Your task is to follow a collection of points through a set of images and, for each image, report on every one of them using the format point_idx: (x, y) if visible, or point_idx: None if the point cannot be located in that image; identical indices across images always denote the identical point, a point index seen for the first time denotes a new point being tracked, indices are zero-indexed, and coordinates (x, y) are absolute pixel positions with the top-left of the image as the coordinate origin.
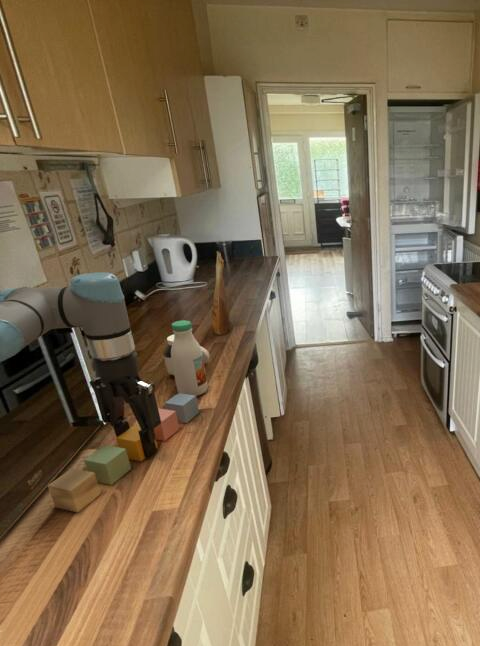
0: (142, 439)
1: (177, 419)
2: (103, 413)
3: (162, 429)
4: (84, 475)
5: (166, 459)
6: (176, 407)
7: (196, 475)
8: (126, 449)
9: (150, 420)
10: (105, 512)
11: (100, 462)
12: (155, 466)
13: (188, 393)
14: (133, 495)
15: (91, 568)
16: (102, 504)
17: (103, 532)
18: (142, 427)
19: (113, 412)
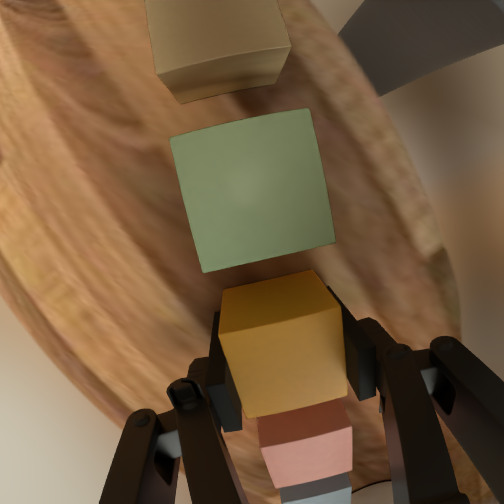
0: (213, 357)
1: None
2: (466, 371)
3: (258, 424)
4: (179, 41)
5: (156, 333)
6: (306, 489)
7: (30, 313)
8: (284, 294)
9: (117, 455)
10: (93, 74)
11: (204, 130)
12: (151, 293)
13: (361, 497)
14: (82, 160)
15: (9, 13)
16: (130, 82)
17: (46, 47)
18: (192, 409)
19: (407, 416)
